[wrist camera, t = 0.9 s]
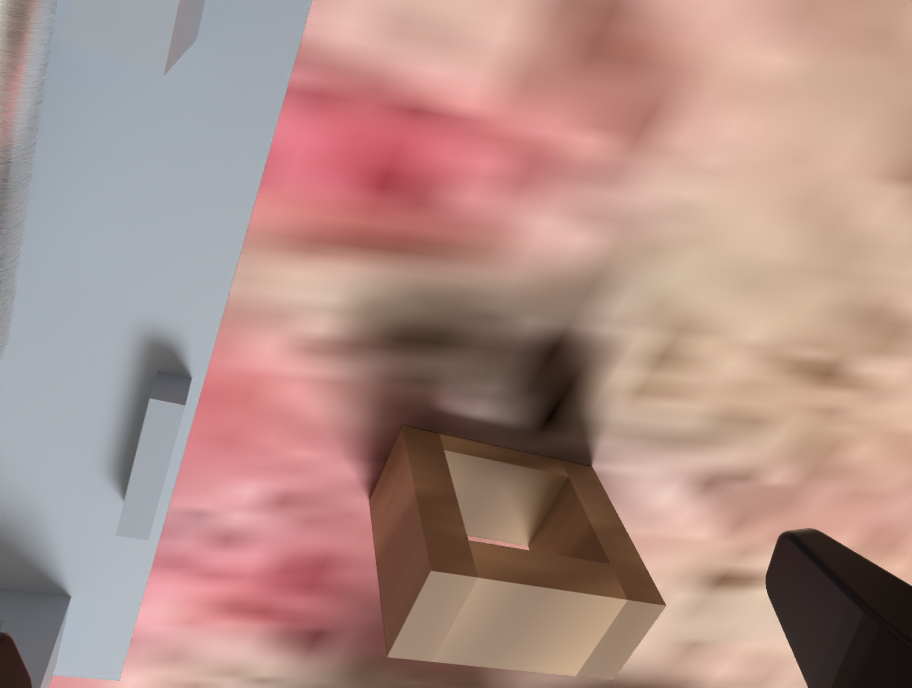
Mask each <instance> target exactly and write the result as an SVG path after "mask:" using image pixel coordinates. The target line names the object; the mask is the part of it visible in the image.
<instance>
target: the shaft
mask: <svg viewBox="0 0 912 688" xmlns="http://www.w3.org/2000/svg"><path fill="white" fill-rule="evenodd" d="M57 1H58V0H0V361H1V360H2V358H3V356H4V354H5V351H6V349H7V345H8V341H9V336H10V329H11V322H12V315H13V308H14V301H15V294H16V287H17V280H18V273H19V266H20V259H21V252H22V245H23V238H24V231H25V224H26V217H27V210H28V203H29V196H30V189H31V182H32V176H33V169H34V162H35V155H36V148H37V141H38V134H39V127H40V120H41V113H42V106H43V99H44V92H45V85H46V78H47V71H48V64H49V57H50V50H51V43H52V36H53V29H54V22H55V15H56V8H57Z"/></svg>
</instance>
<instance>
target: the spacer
mask: <svg viewBox="0 0 912 688" xmlns="http://www.w3.org/2000/svg"><path fill="white" fill-rule="evenodd" d="M369 505H370V513H371V522H372V531H373V539H374V548H375V557H376V565H377V574H378V583H379V591H380V600H381V609H382V617H383V626H384V635H385V643H386V652H387V657H390V658H400V659H409V660H419V661H429V662H439V663H448V664H458V665H468V666H478V667H487V668H497V669H507V670H517V671H526V672H536V673H546V674H556V675H565V676H575V677H585V678H595V679H604V680H613V679H614V678H615V677H616V675H617V674H618V672H619V671H620V670H621V668H622V667H623V665H624V664H625V663H626V661H627V660H628V658H629V657H630V656H631V654H632V653H633V651H634V650H635V649H636V647H637V646H638V644H639V643H640V642H641V640H642V639H643V637H644V636H645V635H646V633H647V632H648V630H649V629H650V628H651V626H652V625H653V624H654V622H655V621H656V619H657V618H658V617H659V615H660V614H661V612H662V611H663V610H664V608H665V607H666V604H665V602H664V601H663V599H662V597H661V595H660V593H659V591H658V589H657V587H656V586H655V584H654V582H653V580H652V578H651V576H650V574H649V572H648V571H647V569H646V567H645V565H644V563H643V561H642V559H641V557H640V556H639V554H638V552H637V550H636V548H635V546H634V544H633V542H632V540H631V539H630V537H629V535H628V533H627V531H626V529H625V527H624V525H623V524H622V522H621V520H620V518H619V516H618V514H617V512H616V510H615V509H614V507H613V505H612V503H611V501H610V499H609V497H608V495H607V494H606V492H605V490H604V488H603V486H602V484H601V482H600V480H599V479H598V477H597V475H596V473H595V471H594V469H593V467H590V466H586V465H581V464H577V463H572V462H567V461H563V460H558V459H554V458H549V457H545V456H540V455H535V454H531V453H526V452H522V451H517V450H513V449H508V448H503V447H499V446H494V445H490V444H485V443H481V442H476V441H471V440H467V439H462V438H458V437H453V436H449V435H444V434H439V433H435V432H430V431H426V430H421V429H417V428H412V427H407V426H403V425H402V427H401V429H400V431H399V434H398V436H397V438H396V441H395V443H394V445H393V447H392V450H391V452H390V454H389V457H388V459H387V461H386V464H385V466H384V468H383V470H382V473H381V475H380V477H379V480H378V482H377V484H376V487H375V489H374V491H373V494H372V496H371V498H370V500H369ZM467 536H472V537H478V538H484V539H490V540H496V541H501V542H507V543H513V544H519V545H525V546H528V547H529V549H530V551H529V550H523V549H517V548H511V547H505V546H499V545H493V544H487V543H481V542H475V541H469V540H468V537H467Z"/></svg>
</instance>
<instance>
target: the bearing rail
mask: <svg viewBox="0 0 912 688" xmlns="http://www.w3.org/2000/svg"><path fill="white" fill-rule="evenodd" d="M311 3H312V0H58V1H57V8H56V15H55V22H54V29H53V36H52V43H51V50H50V57H49V64H48V71H47V78H46V85H45V92H44V99H43V106H42V113H41V120H40V127H39V134H38V141H37V148H36V155H35V162H34V169H33V176H32V182H31V189H30V196H29V203H28V210H27V217H26V224H25V231H24V238H23V245H22V252H21V259H20V266H19V273H18V280H17V287H16V294H15V301H14V308H13V315H12V322H11V329H10V336H9V341H8V345H7V349H6V351H5V354H4V356H3V358H2V360H1V361H0V631H2V632H7V633H8V634H10V635H11V636H12V638H13V640H14V642H15V644H16V646H17V648H18V651H19V653H20V655H21V657H22V659H23V661H24V664H25V666H26V668H27V670H28V672H29V675H30V678H31V682H32V688H49V685H50V682H51V679H52V676H53V675H55V676H67V677H79V678H92V679H104V680H117V681H119V680H120V677H121V673H122V670H123V666H124V663H125V659H126V656H127V652H128V649H129V645H130V642H131V638H132V634H133V631H134V627H135V624H136V620H137V617H138V613H139V610H140V606H141V603H142V599H143V596H144V592H145V589H146V585H147V582H148V578H149V574H150V571H151V567H152V564H153V560H154V557H155V553H156V550H157V546H158V543H159V539H160V536H161V532H162V529H163V525H164V522H165V518H166V514H167V511H168V507H169V504H170V500H171V497H172V493H173V490H174V486H175V483H176V479H177V476H178V472H179V469H180V465H181V462H182V458H183V454H184V451H185V447H186V444H187V440H188V437H189V433H190V430H191V426H192V423H193V419H194V416H195V412H196V409H197V405H198V402H199V398H200V394H201V391H202V387H203V384H204V380H205V377H206V373H207V370H208V366H209V363H210V359H211V356H212V352H213V349H214V345H215V342H216V338H217V334H218V331H219V327H220V324H221V320H222V317H223V313H224V310H225V306H226V303H227V299H228V296H229V292H230V289H231V285H232V282H233V278H234V274H235V271H236V267H237V264H238V260H239V257H240V253H241V250H242V246H243V243H244V239H245V236H246V232H247V229H248V225H249V222H250V218H251V214H252V211H253V207H254V204H255V200H256V197H257V193H258V190H259V186H260V183H261V179H262V176H263V172H264V169H265V165H266V162H267V158H268V154H269V151H270V147H271V144H272V140H273V137H274V133H275V130H276V126H277V123H278V119H279V116H280V112H281V109H282V105H283V102H284V98H285V94H286V91H287V87H288V84H289V80H290V77H291V73H292V70H293V66H294V63H295V59H296V56H297V52H298V49H299V45H300V42H301V38H302V34H303V31H304V27H305V24H306V20H307V17H308V13H309V10H310V6H311Z"/></svg>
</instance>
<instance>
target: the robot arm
mask: <svg viewBox="0 0 912 688" xmlns="http://www.w3.org/2000/svg"><path fill="white" fill-rule="evenodd" d="M766 589H767V593H768V596H769V599H770V601H771V603H772V606H773V608H774V610H775V612H776V615H777V617H778V619H779V622H780V624H781V626H782V629H783V631H784V633H785V635H786V638H787V640H788V642H789V645H790V647H791V649H792V651H793V654H794V656H795V658H796V661H797V663H798V665H799V668H800V670H801V672H802V674H803V677H804V679H805V681H806V684H807V686H808V688H912V586H911V585H909V584H908V583H906V582H904V581H903V580H901V579H899V578H898V577H896V576H894V575H893V574H891V573H889V572H888V571H886V570H884V569H883V568H881V567H879V566H878V565H876V564H874V563H873V562H871V561H869V560H868V559H866V558H864V557H863V556H861V555H859V554H858V553H856V552H854V551H853V550H851V549H849V548H848V547H846V546H844V545H843V544H841V543H839V542H837V541H836V540H834V539H832V538H831V537H829V536H827V535H826V534H824V533H822V532H820V531H818V530H816V529H811V528H807V529H799V530H791V531H786V532H783V533H782V534H781V535H780V536H779V538H778V540H777V543H776V546H775V549H774V552H773V555H772V558H771V561H770V564H769V567H768V570H767V573H766ZM0 688H32V682H31V678H30V675H29V672H28V670H27V668H26V666H25V664H24V661H23V659H22V657H21V655H20V653H19V651H18V648H17V646H16V644H15V642H14V640H13V638H12V636H11V635H10V634H8V633H7V632H2V631H0Z"/></svg>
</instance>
